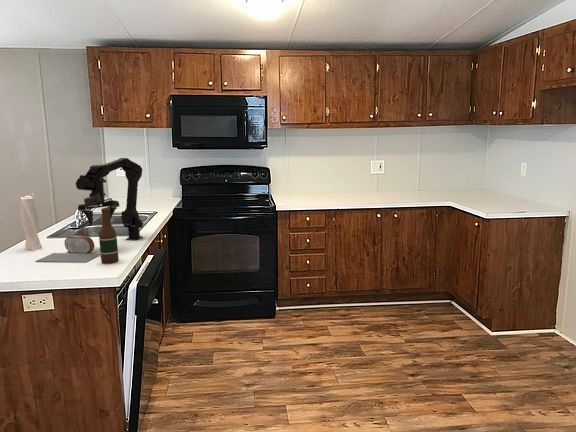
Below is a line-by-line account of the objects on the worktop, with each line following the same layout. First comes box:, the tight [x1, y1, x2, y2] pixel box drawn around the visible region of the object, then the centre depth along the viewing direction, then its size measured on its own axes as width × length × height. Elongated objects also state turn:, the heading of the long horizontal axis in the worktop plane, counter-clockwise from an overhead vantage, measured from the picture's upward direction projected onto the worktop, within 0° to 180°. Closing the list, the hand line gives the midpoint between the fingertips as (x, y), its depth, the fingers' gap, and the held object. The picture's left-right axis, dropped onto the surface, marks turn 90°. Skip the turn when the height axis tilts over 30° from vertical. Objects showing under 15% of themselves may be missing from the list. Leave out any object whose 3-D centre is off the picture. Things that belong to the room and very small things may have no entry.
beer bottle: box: [98, 207, 120, 265], centre depth 207 cm, size 8×8×24 cm
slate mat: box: [35, 252, 101, 264], centre depth 216 cm, size 14×24×1 cm, turn 84°
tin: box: [64, 234, 95, 253], centre depth 224 cm, size 15×3×8 cm, turn 75°
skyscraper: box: [20, 192, 43, 251], centre depth 232 cm, size 8×8×28 cm
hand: (100, 223), depth 225 cm, fingers open, 9 cm apart
